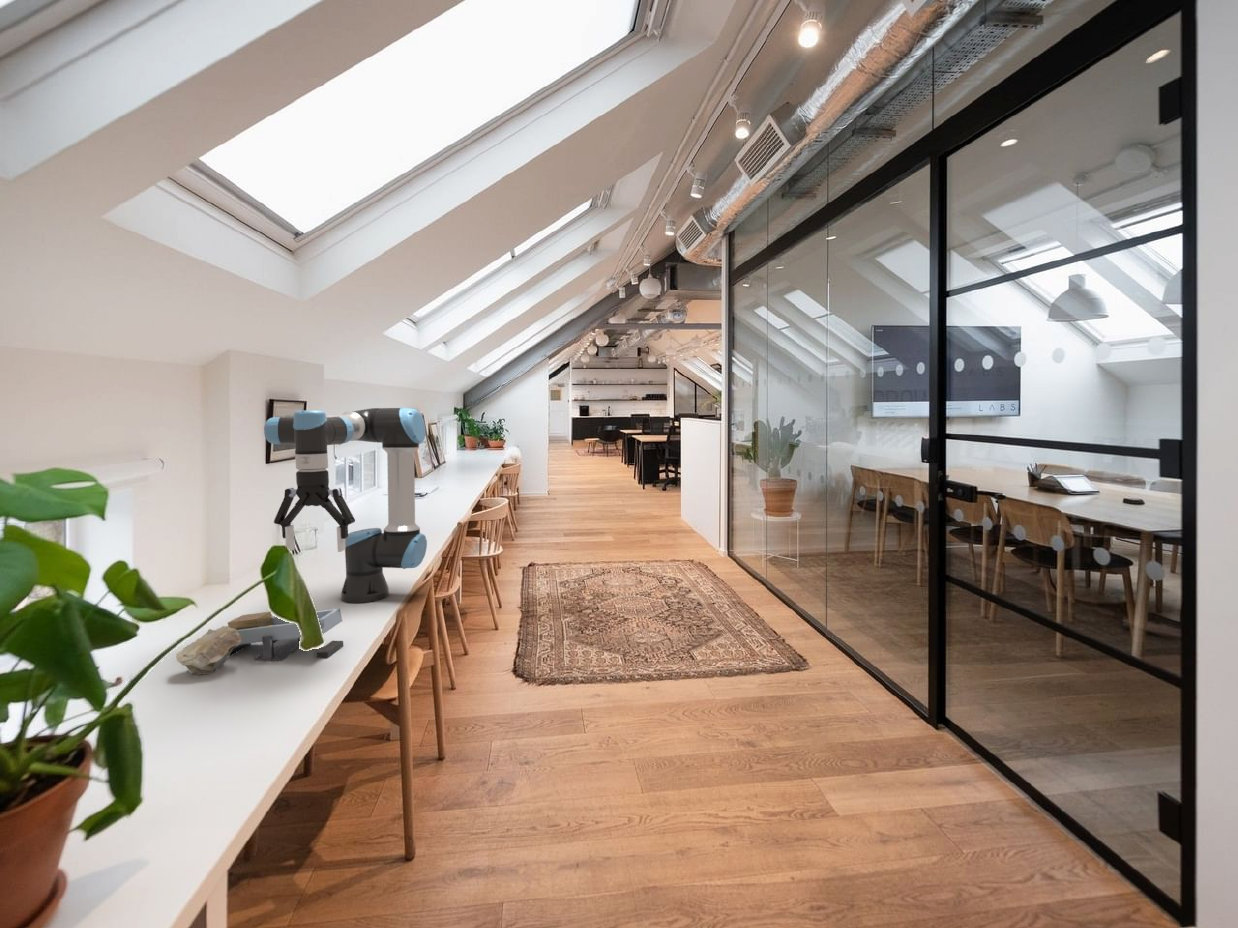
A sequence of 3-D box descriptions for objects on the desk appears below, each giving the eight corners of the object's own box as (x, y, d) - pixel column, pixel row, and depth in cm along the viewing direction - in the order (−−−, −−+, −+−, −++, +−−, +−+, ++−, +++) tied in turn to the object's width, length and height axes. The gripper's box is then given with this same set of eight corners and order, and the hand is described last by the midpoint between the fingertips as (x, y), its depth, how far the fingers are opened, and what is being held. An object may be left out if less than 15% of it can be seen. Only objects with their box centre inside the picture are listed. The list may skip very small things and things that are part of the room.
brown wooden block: (245, 629, 168) (242, 614, 168) (273, 625, 167) (270, 611, 167) (230, 637, 162) (227, 622, 162) (259, 633, 161) (256, 618, 161)
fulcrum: (246, 640, 172) (245, 617, 172) (348, 642, 171) (347, 619, 170) (212, 659, 159) (211, 635, 158) (322, 662, 157) (321, 637, 157)
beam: (246, 631, 171) (244, 619, 171) (343, 620, 169) (341, 606, 169) (217, 648, 159) (214, 634, 159) (321, 635, 158) (318, 621, 157)
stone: (231, 679, 147) (229, 638, 146) (165, 684, 145) (162, 642, 144) (250, 661, 158) (248, 623, 157) (188, 665, 155) (186, 626, 155)
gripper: (256, 471, 156) (260, 553, 158) (353, 471, 156) (356, 554, 158) (273, 468, 164) (277, 547, 166) (366, 468, 163) (369, 547, 165)
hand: (316, 550), depth 162 cm, fingers open, 13 cm apart
